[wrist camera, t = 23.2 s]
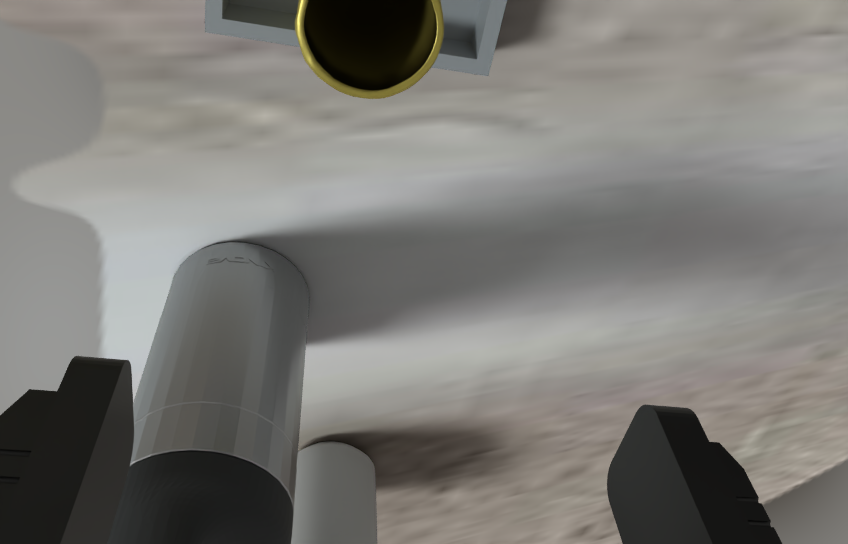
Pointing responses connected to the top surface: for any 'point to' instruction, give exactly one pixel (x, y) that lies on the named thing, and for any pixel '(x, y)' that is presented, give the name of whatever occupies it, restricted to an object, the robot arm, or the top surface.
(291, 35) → the tray
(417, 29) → the vase
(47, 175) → the top surface
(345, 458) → the can
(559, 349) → the top surface
